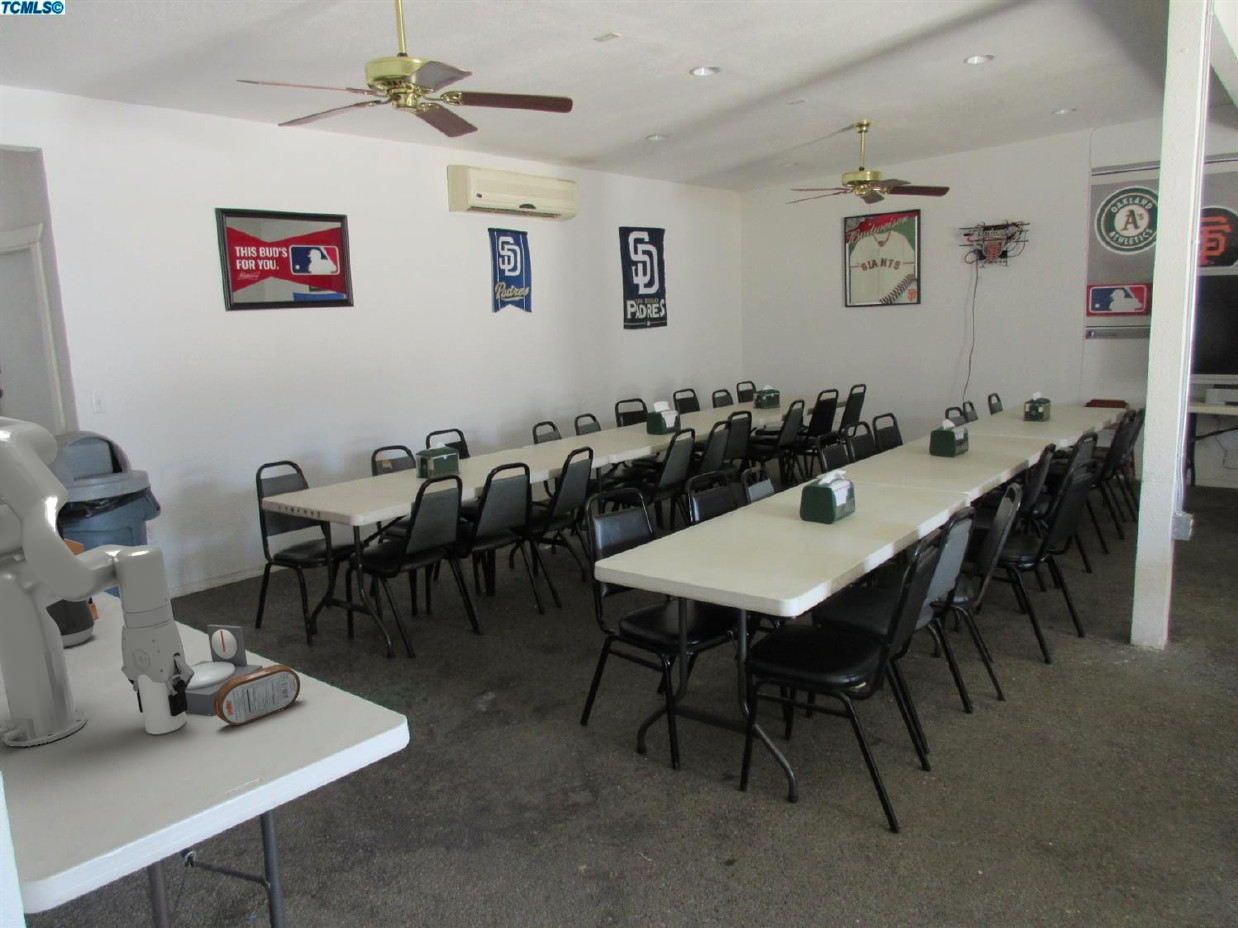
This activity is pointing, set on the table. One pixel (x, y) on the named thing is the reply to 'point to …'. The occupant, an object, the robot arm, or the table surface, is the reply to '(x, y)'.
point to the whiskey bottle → (76, 549)
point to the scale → (217, 668)
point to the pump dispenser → (72, 620)
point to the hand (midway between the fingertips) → (163, 710)
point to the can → (158, 707)
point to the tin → (256, 694)
